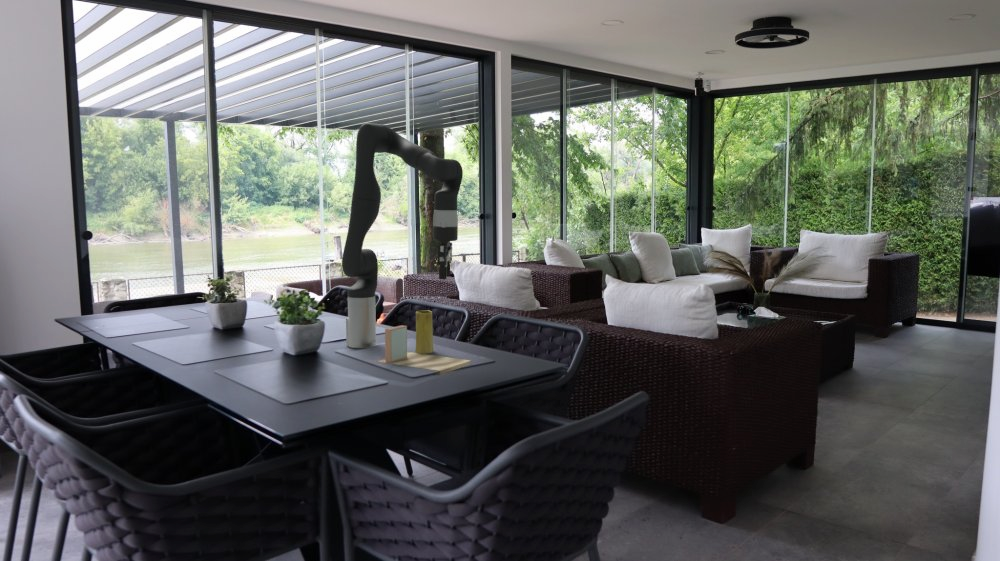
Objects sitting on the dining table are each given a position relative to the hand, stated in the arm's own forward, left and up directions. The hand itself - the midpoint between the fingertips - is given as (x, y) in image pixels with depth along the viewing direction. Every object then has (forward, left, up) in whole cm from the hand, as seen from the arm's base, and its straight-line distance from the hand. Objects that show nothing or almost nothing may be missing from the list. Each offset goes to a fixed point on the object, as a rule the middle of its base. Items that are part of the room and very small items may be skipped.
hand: (444, 277), depth 225 cm
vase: (-10, +3, -26) cm, 28 cm away
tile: (-10, -11, -25) cm, 29 cm away
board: (-2, -8, -26) cm, 27 cm away
